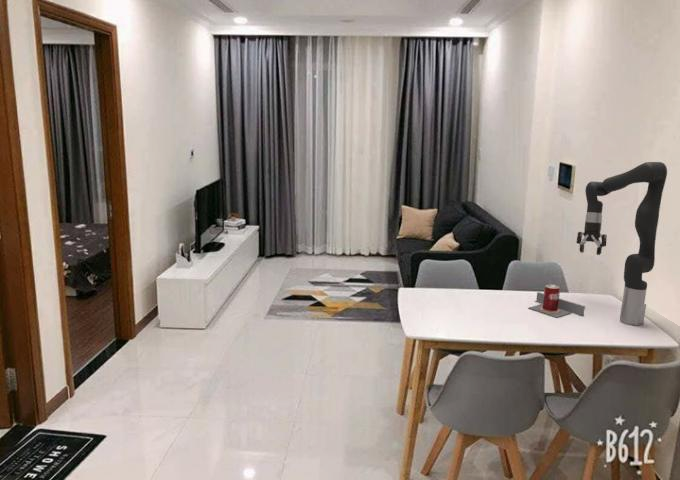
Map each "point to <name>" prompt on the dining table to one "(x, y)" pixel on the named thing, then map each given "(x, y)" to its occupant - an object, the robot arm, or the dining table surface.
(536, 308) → the mat
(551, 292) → the soda can
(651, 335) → the dining table surface
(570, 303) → the low wall
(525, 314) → the dining table surface
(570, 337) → the dining table surface
